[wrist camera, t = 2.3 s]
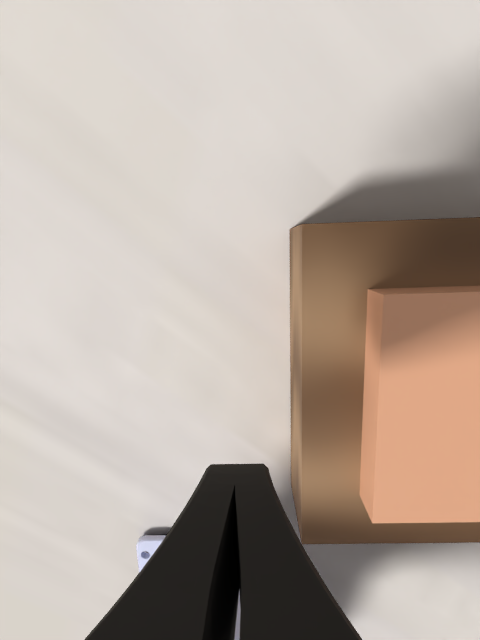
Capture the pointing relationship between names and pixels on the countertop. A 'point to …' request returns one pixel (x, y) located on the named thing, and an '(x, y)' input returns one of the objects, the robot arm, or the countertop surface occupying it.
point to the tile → (422, 405)
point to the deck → (356, 360)
